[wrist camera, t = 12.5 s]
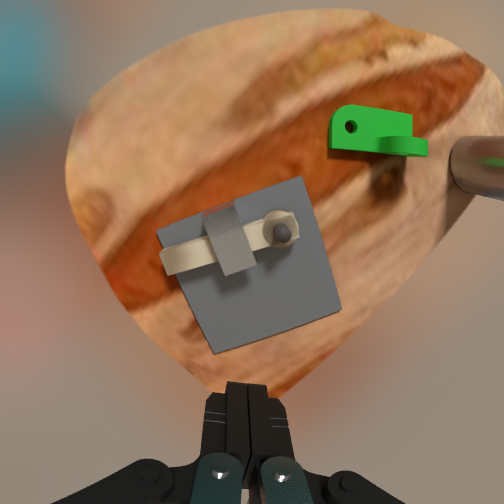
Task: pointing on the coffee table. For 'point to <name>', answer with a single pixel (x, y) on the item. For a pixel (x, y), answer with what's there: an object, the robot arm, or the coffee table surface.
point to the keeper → (228, 238)
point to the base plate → (260, 274)
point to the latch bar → (258, 233)
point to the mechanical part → (375, 132)
